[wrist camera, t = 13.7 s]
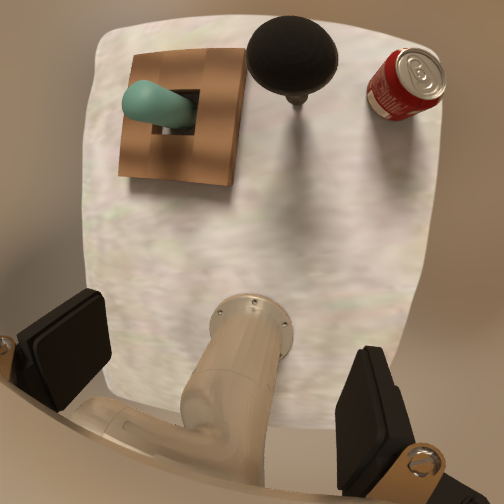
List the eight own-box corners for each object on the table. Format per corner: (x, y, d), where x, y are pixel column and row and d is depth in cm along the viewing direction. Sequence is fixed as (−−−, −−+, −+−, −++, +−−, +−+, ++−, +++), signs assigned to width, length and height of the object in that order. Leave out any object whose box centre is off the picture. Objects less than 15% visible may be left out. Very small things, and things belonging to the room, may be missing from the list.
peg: (197, 130, 37) (155, 119, 26) (167, 130, 38) (119, 121, 26) (200, 100, 36) (161, 78, 24) (171, 100, 36) (125, 81, 25)
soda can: (378, 127, 33) (409, 112, 22) (356, 81, 32) (377, 48, 20) (420, 114, 31) (462, 98, 20) (399, 69, 30) (432, 38, 19)
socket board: (232, 184, 38) (227, 185, 35) (129, 174, 40) (118, 176, 38) (248, 56, 33) (244, 48, 30) (143, 60, 35) (133, 55, 32)
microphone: (308, 69, 32) (309, -13, 13) (333, 113, 33) (363, 61, 15) (261, 90, 34) (219, 24, 15) (285, 135, 35) (266, 101, 16)
